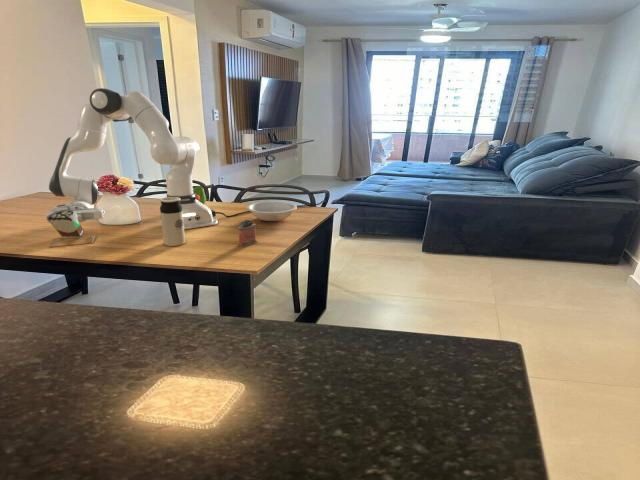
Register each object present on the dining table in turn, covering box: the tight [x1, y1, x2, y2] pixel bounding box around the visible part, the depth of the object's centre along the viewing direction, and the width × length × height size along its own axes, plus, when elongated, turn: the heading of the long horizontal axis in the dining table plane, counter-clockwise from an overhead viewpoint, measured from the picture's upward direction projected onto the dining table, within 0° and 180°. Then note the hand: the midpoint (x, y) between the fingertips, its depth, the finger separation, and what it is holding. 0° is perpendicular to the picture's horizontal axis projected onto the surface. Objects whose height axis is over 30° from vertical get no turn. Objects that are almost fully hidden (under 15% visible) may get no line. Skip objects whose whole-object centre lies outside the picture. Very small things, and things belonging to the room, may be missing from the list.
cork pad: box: [49, 235, 96, 248], centre depth 151 cm, size 14×9×1 cm, turn 112°
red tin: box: [237, 218, 257, 247], centre depth 151 cm, size 8×3×10 cm, turn 141°
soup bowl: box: [246, 200, 298, 222], centre depth 186 cm, size 24×24×7 cm
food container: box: [46, 209, 85, 238], centre depth 154 cm, size 12×6×10 cm, turn 79°
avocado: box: [193, 185, 207, 205], centre depth 205 cm, size 8×8×12 cm
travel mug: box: [159, 196, 186, 247], centre depth 149 cm, size 8×8×18 cm
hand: (73, 219), depth 153 cm, fingers closed
